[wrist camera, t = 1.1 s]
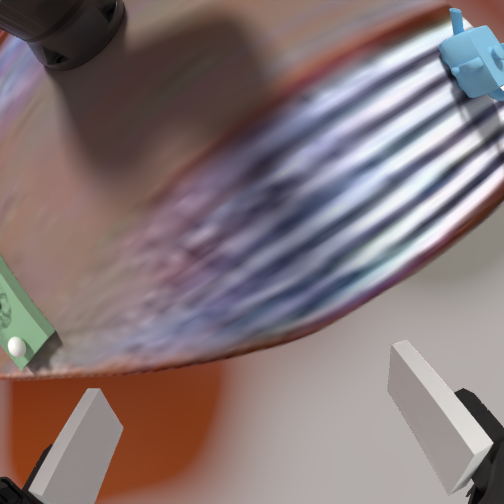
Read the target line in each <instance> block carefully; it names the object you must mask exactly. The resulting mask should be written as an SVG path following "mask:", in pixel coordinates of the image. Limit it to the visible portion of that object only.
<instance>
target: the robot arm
mask: <svg viewBox="0 0 504 504" xmlns="http://www.w3.org/2000/svg"><path fill="white" fill-rule="evenodd" d="M123 14H124V5H123V1H122V0H0V29H1V30H3V31H5V32H7V33H9V34H11V35H14V36H16V37H18V38H20V39H22V40H24V41H25V42H27V44H28V45H29V47H30V48H31V50H32V51H33V53H34V55H35V56H36V58H37V59H38V60H39V61H40V62H41V63H42V64H43V65H45V66H47V67H49V68H51V69H54V70H68V69H72V68H75V67H77V66H79V65H81V64H83V63H85V62H87V61H88V60H90V59H91V58H92V57H94V56H95V55H96V54H97V53H99V52H100V51H101V50H102V49H103V48H104V47H105V46H106V45H107V44H108V42H109V41H110V40H111V39H112V37H113V36H114V35H115V33H116V31H117V30H118V28H119V26H120V24H121V21H122V18H123ZM388 392H389V394H390V395H391V397H392V398H393V400H394V402H395V403H396V405H397V407H398V408H399V410H400V411H401V413H402V415H403V417H404V418H405V420H406V422H407V423H408V425H409V427H410V429H411V430H412V432H413V433H414V435H415V437H416V439H417V441H418V442H419V444H420V446H421V447H422V449H423V451H424V453H425V454H426V456H427V458H428V459H429V462H430V463H431V465H432V467H433V469H434V470H435V472H436V474H437V476H438V478H439V479H440V481H441V483H442V485H443V487H444V489H445V491H446V493H447V494H448V496H449V495H450V494H452V493H454V492H456V491H458V490H459V489H461V488H463V487H465V486H466V485H467V483H468V482H469V481H470V479H471V478H472V480H473V482H474V485H473V486H472V488H471V489H470V490H469V491H468V493H467V495H466V497H468V496H469V495H470V494H471V495H470V499H469V502H468V504H504V428H503V426H502V425H501V424H500V423H499V422H498V420H497V419H496V418H495V417H494V416H493V415H492V413H491V412H490V411H489V410H487V408H486V407H485V405H484V404H482V403H481V401H480V400H479V399H478V397H477V396H476V395H475V394H474V393H472V392H470V391H468V390H466V389H464V388H463V389H461V390H459V391H457V392H455V393H453V392H452V391H451V390H450V388H449V387H448V386H447V385H446V384H445V382H444V381H443V380H442V379H441V378H440V377H439V375H438V374H437V373H436V372H435V371H434V370H433V369H432V367H431V366H430V365H429V364H428V363H427V362H426V361H425V359H424V358H423V357H422V356H421V355H420V354H419V353H418V352H417V351H416V349H414V347H413V346H412V345H411V344H410V343H409V342H408V341H407V340H406V339H405V340H402V341H399V342H396V343H393V344H391V355H390V369H389V380H388ZM122 430H123V427H122V425H121V424H120V422H119V420H118V419H117V417H116V416H115V414H114V412H113V410H112V409H111V407H110V405H109V404H108V402H107V400H106V398H105V397H104V395H103V393H102V391H101V389H90V388H88V389H87V391H86V392H85V394H84V395H83V397H82V398H81V400H80V402H79V403H78V405H77V407H76V408H75V409H74V411H73V413H72V414H71V416H70V418H69V419H68V421H67V423H66V424H65V426H64V428H63V429H62V431H61V433H60V434H59V436H58V438H57V439H56V441H55V443H54V444H51V445H50V446H49V447H47V448H46V449H45V450H44V451H43V453H42V455H41V457H40V458H39V460H38V462H37V463H36V467H34V469H33V471H32V472H31V474H30V476H29V478H28V480H27V482H26V483H25V485H24V487H23V488H22V490H21V489H20V488H19V487H17V485H15V484H14V482H12V481H11V480H10V479H9V478H8V477H0V504H94V503H95V500H96V498H97V495H98V492H99V489H100V487H101V484H102V481H103V479H104V476H105V474H106V471H107V468H108V466H109V463H110V461H111V458H112V455H113V453H114V450H115V448H116V445H117V443H118V441H119V438H120V436H121V433H122Z"/></svg>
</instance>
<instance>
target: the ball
mask: <svg viewBox="0 0 504 504" xmlns="http://www.w3.org/2000/svg"><path fill="white" fill-rule="evenodd" d="M8 350H9V352H10V353H11V354H12V355H13V356H14V357H22V356H23V355H24V354H25V352H26V345H25V342H24V341H23V340H22V339H21V338H20V337H12V338H11V339H10V340H9V342H8Z"/></svg>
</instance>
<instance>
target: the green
mask: <svg viewBox="0 0 504 504" xmlns="http://www.w3.org/2000/svg"><path fill="white" fill-rule="evenodd" d="M55 331H56V330H55V329H54V328H53V327H52V325H51V324H50V323H49V322H48V321H47V319H46V318H45V317H44V316H43V314H42V313H41V312H40V311H39V309H38V308H37V307H36V305H35V304H34V303H33V302H32V300H31V299H30V298H29V296H28V295H27V293H26V292H25V291H24V289H23V288H22V287H21V285H20V284H19V282H18V281H17V279H16V278H15V276H14V275H13V274H12V272H11V271H10V269H9V267H8V266H7V264H6V263H5V261H4V260H3V258H2V257H1V255H0V344H1V346H2V347H3V348H4V350H5V351H6V352H7V353H8V355H9V356H10V357H11V358H12V360H13V361H14V362H15V363H16V364H17V365H18V367H19V368H20V369H21V370H22V369H23V368H24V367H25V366H26V365H27V364H28V363H29V362H30V361H31V359H32V358H33V357H34V356H35V354H36V353H37V352H38V351H39V350H40V348H41V347H42V346H43V345H44V344H45V342H46V341H47V340H48V339H49V338H50V336H51V335H52V334H53V333H54V332H55ZM12 337H20V338H21V339H22V340H23V341H24V342H25V345H26V352H25V354H24V355H23V356H22V357H14V356H13V355H12V354H11V353H10V352H9V350H8V342H9V340H10V339H11V338H12Z"/></svg>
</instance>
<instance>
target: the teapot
mask: <svg viewBox="0 0 504 504" xmlns="http://www.w3.org/2000/svg"><path fill="white" fill-rule="evenodd" d="M450 15H451V20H452V27H453V33H454V36H452V37H450V38H448V39H446V40H445V41H443V42H442V43H441V44H440V45H439V46H438V48H439V50H440V52H441V59H442V60H443V62H444V63H446V64H448V66H449V67H450V69H451V72H452V74H453V75H454V76H455V77H456V79H457V80H458V81H457V84H458V87H459V88H460V89H461V90H462V91H465V93H466V94H467V96H468V97H470V98H477V97H480V96H483V95H486V94H488V95H489V96H490V97H492V98H493V99H495V100H498V101H504V91H503V90H502V89H501V88H500V87H502V86H503V85H504V43H502V44H500V43H499V42H498V40H497V39H496V37H495V36H494V34H493V33H492V31H491V30H490V29H489V28H488V26H481V27H477V28H473V29H470V30H467V31H464V29H463V22H462V15H461V11H460V10H458V9H454V8H451V9H450Z"/></svg>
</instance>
